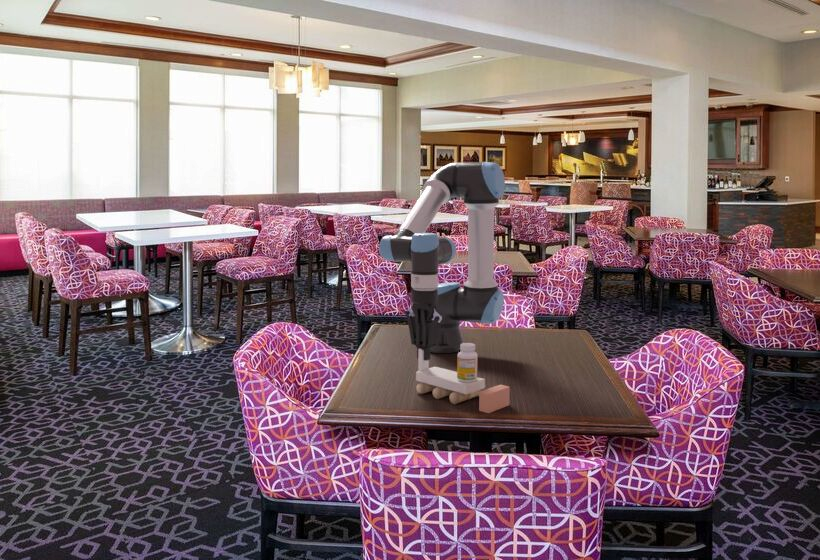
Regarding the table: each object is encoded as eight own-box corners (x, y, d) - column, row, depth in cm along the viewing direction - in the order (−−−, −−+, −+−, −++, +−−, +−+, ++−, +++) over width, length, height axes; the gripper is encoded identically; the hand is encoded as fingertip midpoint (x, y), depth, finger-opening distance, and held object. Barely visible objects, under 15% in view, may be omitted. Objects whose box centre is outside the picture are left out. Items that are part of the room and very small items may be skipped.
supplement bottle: (463, 375, 187) (464, 341, 185) (480, 379, 184) (481, 343, 182) (453, 380, 182) (453, 344, 181) (470, 383, 179) (471, 347, 178)
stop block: (479, 410, 175) (479, 391, 175) (499, 402, 182) (500, 384, 181) (488, 413, 173) (488, 394, 172) (509, 405, 180) (509, 386, 179)
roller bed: (416, 392, 190) (416, 382, 189) (440, 385, 197) (440, 375, 196) (458, 405, 179) (458, 394, 179) (481, 396, 187) (481, 386, 186)
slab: (416, 380, 191) (416, 371, 190) (435, 374, 196) (435, 366, 196) (466, 394, 178) (466, 385, 178) (484, 388, 184) (485, 379, 184)
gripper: (398, 287, 192) (397, 368, 195) (432, 292, 183) (431, 377, 187) (416, 284, 198) (416, 364, 201) (450, 289, 189) (449, 372, 192)
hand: (423, 370), depth 194 cm, fingers closed
